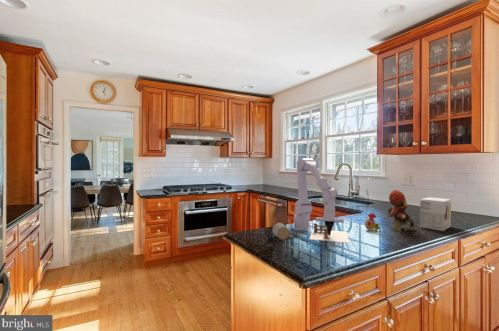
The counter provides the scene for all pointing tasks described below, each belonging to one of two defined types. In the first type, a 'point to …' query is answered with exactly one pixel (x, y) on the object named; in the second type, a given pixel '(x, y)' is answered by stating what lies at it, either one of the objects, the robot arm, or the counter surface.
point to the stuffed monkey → (399, 210)
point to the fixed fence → (318, 226)
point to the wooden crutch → (325, 233)
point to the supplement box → (435, 213)
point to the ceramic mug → (281, 231)
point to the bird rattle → (371, 222)
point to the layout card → (334, 236)
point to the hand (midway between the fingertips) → (329, 235)
